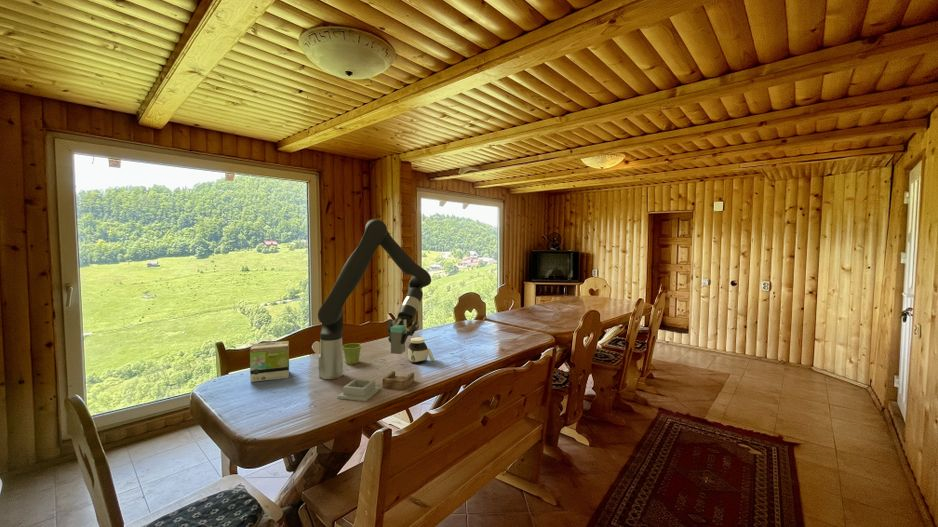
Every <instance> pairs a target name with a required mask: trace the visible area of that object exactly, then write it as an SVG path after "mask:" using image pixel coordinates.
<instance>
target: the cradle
mask: <svg viewBox="0 0 938 527" xmlns="http://www.w3.org/2000/svg"><path fill="white" fill-rule="evenodd" d="M414 382H415V372H410V373H409V374H408V375H407V376H401V375H396V370H392V371H391V372H390V373H388V374H387V375H386V376H384V378H382V388H386V389H393V390H395V389H396V390H406V389H408V387H410V386H411V384H413V383H414Z"/></svg>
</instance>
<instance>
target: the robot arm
mask: <svg viewBox="0 0 938 527" xmlns="http://www.w3.org/2000/svg"><path fill="white" fill-rule="evenodd" d="M379 246H381V247H382V249H384V251H385V252H386V253H387V254H388V256H389V257H390V258H391V259H392V261H393V262H394V263H395V265H396V266H397V267H398V268H399V270H401V271H402V273H403V274H405V275H407V276H409V275H411V277H410V279H409V281H408V286H407V287H408V289H407V293H406V296H405V298H404V300H403V301H402V304H401V306H400V308H399V311H398V313H397V317H396V318H395V319H392V318H391V319H389V320H388V324H387V325H388V326H387V331H388V333H389V335H388V342H389V343H390V344H391V332H390V327H392V326H394V325H404V326H405V330H404V334H403V336H402V338H401V341H400V342H401V344H404V343H405V344H406V341H407V338H408V337H412V336H413V335H414V334H415V332H416V330H417V329H418V328H419V326H420V325H419V322H418V321H415V319H416V316H417V314H418V311H419V308H420V304H421V301H422V300H423V297H424V293H423V291H422V289H423V288H425V287H428V286H430V285H431V283H432V276H431V274H430V273H429V271H427V270H426V269H424V268H423V267H422V266H420V265H419V264H417V263H416V262H415V261H414V259H413V258H412V257H411V256H410V255H409V253H407V252H406V251H405V250H404V249H403V248H402V247H401V246H400V245H399V244H398V242H397V241H396V240H395V239H394V237H392V236H391V234H390V233H389V230H388V227H387V225H386V223H385V222H384V221H383V220H381V219H379V218H372V219H370V220H368V221H367V222H366V224H365V226H364V233H363V235H362V237H361V239H360V241H359V244H358V246H357V247H356V248H355V249H354V251H353V252H352V253H351V254H350V256H349V257H348V258H347V260H346V262H345V263H344V265H342V266H343V267H342V269H341V270H340V273H339V274H338V277H337V279H336V281H335V282H334V285H333V287H332V288H331V291H330V293H329V294H328V296H327V298H326V299H325V300H324V302H323V303H322V305H321V306H320V307H319V309H318V312H317V318H318V320H319V322H320V324H321V330H320V333H319V341H320V342H319V346H320V349H319V350H320V354H319V356H318V378H321V379H323V380H335V379H339V378H342V377H343V375H344V373H343V372H344V369H343V368H344V367H343V357H344V356H343V348H342V346H343V331H344V310H343V308H344V305H345V304H346V301H347V300H348V298H349V297H350V295H351V294H352V293H353V292H354V290H355V289H356V288H357V286H359V283H360V281H362V278H363V277H364V274H366V271H367V269H368V267H369V265H370V262H371V261H372V258H373V256H374V254H375V252H376V250H377V249H378V247H379Z"/></svg>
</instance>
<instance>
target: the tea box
mask: <svg viewBox="0 0 938 527" xmlns="http://www.w3.org/2000/svg"><path fill="white" fill-rule="evenodd" d="M249 374H250V383H255V382H261V381H262V382H263V381H270V380H271V381H272V380H280V379H288V378H289V376H290V341H289V340H285V341H283V340H282V341H272V342H258V343H252V345H251V347H250V349H249Z"/></svg>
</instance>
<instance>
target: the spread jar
mask: <svg viewBox="0 0 938 527" xmlns="http://www.w3.org/2000/svg"><path fill="white" fill-rule="evenodd" d="M407 357H408V360H409V362H410V363H411V364H415V365H420V364H424V363H425V362H426V361H427V360H428V357H429V359H430V361H431V362H434V361H435V359H434V356H433V353H432V350H431V348H430V347H428V346H427V343H425V337H423V336H421V337H420V336H419V337H417V336H416V337H412V338H410V343H409V344H408V346H407Z"/></svg>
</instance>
